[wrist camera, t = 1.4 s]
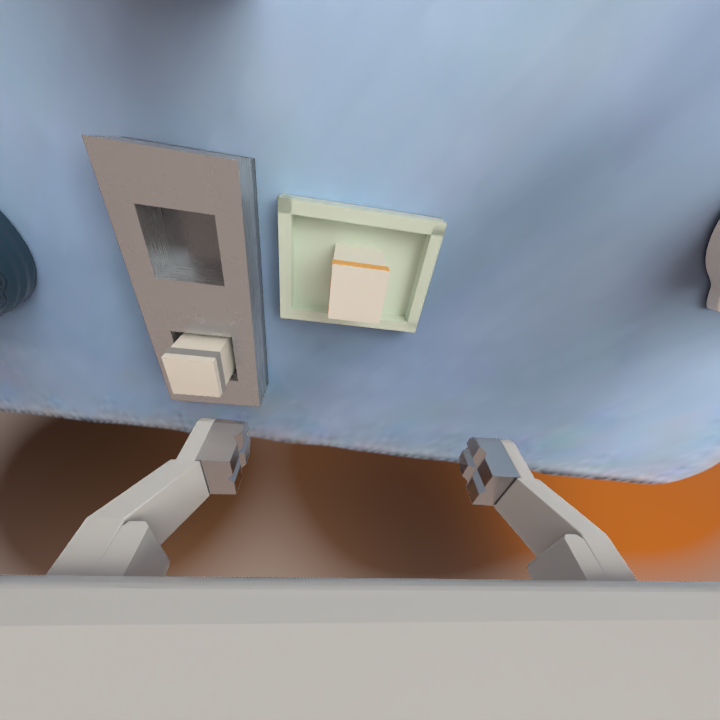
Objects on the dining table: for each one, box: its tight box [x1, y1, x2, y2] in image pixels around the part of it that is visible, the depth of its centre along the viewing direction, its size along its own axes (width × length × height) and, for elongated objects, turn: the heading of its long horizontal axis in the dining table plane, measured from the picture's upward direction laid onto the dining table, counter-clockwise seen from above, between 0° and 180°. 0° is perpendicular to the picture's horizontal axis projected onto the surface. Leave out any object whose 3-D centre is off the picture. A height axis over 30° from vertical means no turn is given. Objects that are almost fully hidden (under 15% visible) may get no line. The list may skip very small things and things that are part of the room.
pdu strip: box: [82, 135, 268, 407], centre depth 26 cm, size 9×22×4 cm, turn 172°
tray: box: [278, 194, 447, 333], centre depth 25 cm, size 13×10×2 cm
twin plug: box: [161, 332, 236, 397], centre depth 27 cm, size 4×4×6 cm
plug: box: [328, 243, 390, 324], centre depth 23 cm, size 4×4×6 cm
